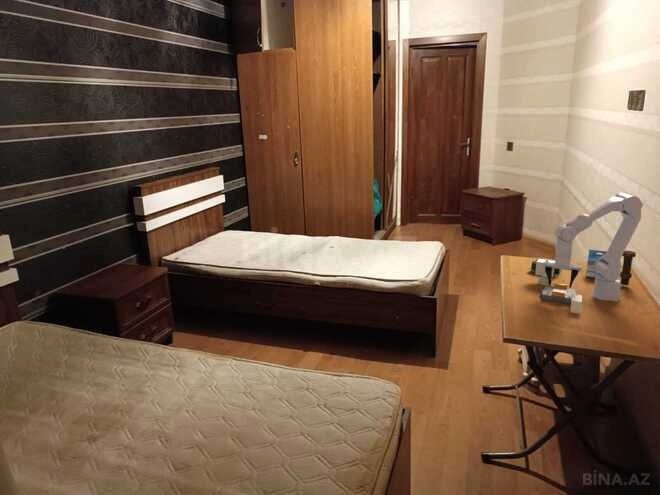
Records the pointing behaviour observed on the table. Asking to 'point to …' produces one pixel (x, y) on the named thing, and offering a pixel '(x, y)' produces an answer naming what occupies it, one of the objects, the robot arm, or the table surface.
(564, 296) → the motor housing
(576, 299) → the block
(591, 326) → the table surface
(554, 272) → the pneumatic valve
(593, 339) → the table surface
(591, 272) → the label tape cartridge
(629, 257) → the bolt
